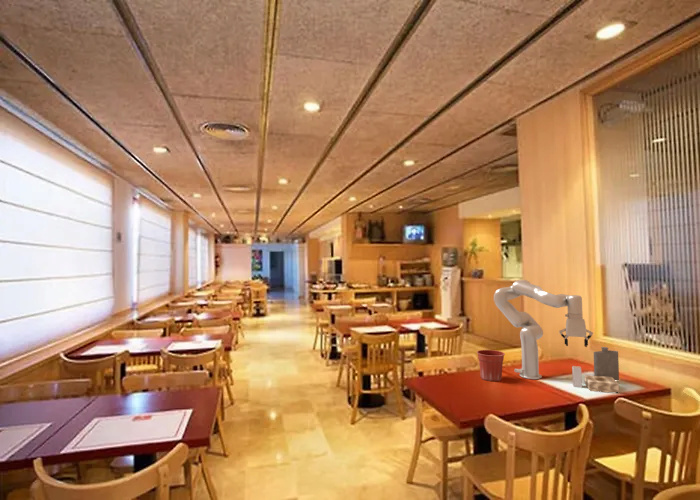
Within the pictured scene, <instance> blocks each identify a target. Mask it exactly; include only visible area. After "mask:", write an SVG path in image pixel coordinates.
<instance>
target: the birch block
mask: <svg viewBox="0 0 700 500" xmlns="http://www.w3.org/2000/svg"><path fill="white" fill-rule="evenodd" d="M584 384H586V385H585V386H586V388H587V387H588V388H587V389H588V391H589V390H590V391H589V392H598V391H599V392H600V391H601V392H600V393H609V392H618V393H617V394H620V384H619V383H618V381H615V380H614V379H613V378H612V377H604V376H594V375H592V374H591V375H588V374H584ZM599 392H598V393H599Z"/></svg>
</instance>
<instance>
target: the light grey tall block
mask: <svg viewBox="0 0 700 500" xmlns="http://www.w3.org/2000/svg"><path fill="white" fill-rule="evenodd" d="M571 369H572V370H571V371H572V386H573V388H581V387H582V386H583V382H582V381H583V379H582V367H581V366H580V365H579V366H576V365H572V367H571Z"/></svg>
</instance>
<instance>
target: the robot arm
mask: <svg viewBox="0 0 700 500" xmlns="http://www.w3.org/2000/svg"><path fill="white" fill-rule="evenodd" d="M521 296H525V297H527V298H530V299H533V300H534V301H537V302H539V303H541V304H543V305H546V306H549V307H552V308H556V309H559V308H563V307H567V313H566V314H564V317H565V318H566V321H565V327H564V328H563V329H560V330H559V331H558V333H559V335H561V337H562V338H563V340H564V345H565V346H566V347H568V346H569V339H568V338H569V337H575V338H576V337H577V338H584V340H583V341H584V342H583V343H584V347H585V348H588V346H589V340H590V339H591V338H592V336H593V334H594V332H593V331H591V330H589V329H587V327H586V321H585V318H584V316H583V299H582V298H583V297H582V296H581V295H577V294H572V295H569V294H563V293H562V294H554V293H551V292H547V291H545V290H544V289H542V287H541V286H540V285H536V284H533V283H531V282H530V281H528V280H526V279H520V280H515V281H514V282H513V283H512V285H509V286H507V287H506V286H505V287H501V288H498V289H496V290H495V291H494V294H493V303H494V304H495V306H496V308H497V309H498V310H499V311H500V312H501V313H502V314H503V315H504V317H505V318H506V319H507V320H508V322H510V324H511V325H512V326H513V327H515V328H521V330H520V332H519V337H520V343H521V344H520V345H521V367H520V368H514V373H517V374H518V373H519V376H520V377H521V378H523V379H527V380H540V379H542V377H543V376H542V374H540V372H539V371H540V370H539V366H540V364H539V347H538V342H537V340H540V339H541V338H542V337H543V335H544V331H543V328H542V327H541V325H540V324H539V323H538V322H537V321H536V320H535V318H533V317H532V316H531V315H530V314H529V313H528V312H526V311H519V310H518V309H517V308H516V307H515V306H514V304H512V303H511V302H509V301H510V300H514V299H516V298H519V297H521ZM564 332H565V334H564ZM587 333H589V334H588V335H587Z"/></svg>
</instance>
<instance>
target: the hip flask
mask: <svg viewBox="0 0 700 500" xmlns="http://www.w3.org/2000/svg"><path fill="white" fill-rule="evenodd" d="M593 376H604V377H612V378H613V379H614V380H619V381H620V368H619V351H617V350H611V349H610V350H609V347H606V346H601V350H599V351H593Z"/></svg>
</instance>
